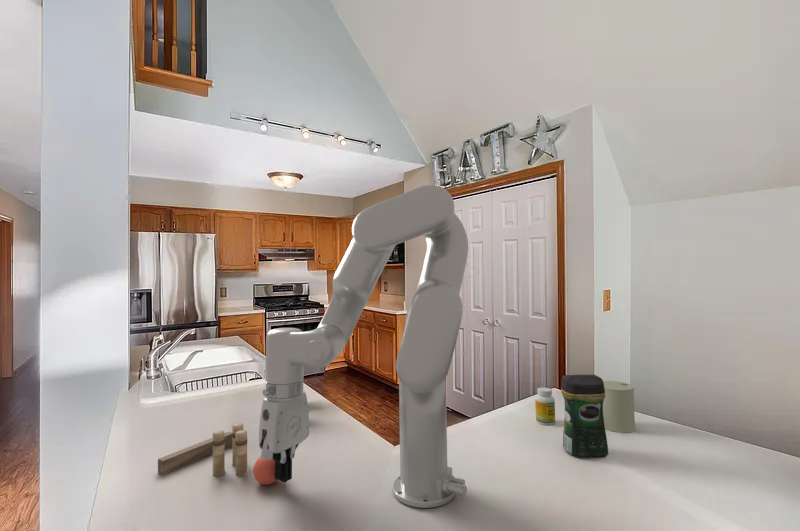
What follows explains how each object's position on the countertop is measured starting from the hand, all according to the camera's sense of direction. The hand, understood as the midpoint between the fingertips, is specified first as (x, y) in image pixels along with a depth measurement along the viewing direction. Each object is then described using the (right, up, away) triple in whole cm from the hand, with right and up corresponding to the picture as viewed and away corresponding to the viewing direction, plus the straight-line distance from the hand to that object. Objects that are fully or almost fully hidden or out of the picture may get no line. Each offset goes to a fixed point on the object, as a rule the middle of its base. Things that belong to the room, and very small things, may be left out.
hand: (283, 479), depth 81 cm
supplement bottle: (+66, -2, +34) cm, 75 cm away
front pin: (-11, -3, +7) cm, 14 cm away
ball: (-4, +1, +3) cm, 5 cm away
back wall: (-25, -3, +15) cm, 30 cm away
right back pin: (-14, -3, +12) cm, 18 cm away
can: (+85, -2, +30) cm, 90 cm away
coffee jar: (+68, -2, +15) cm, 70 cm away
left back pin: (-17, -3, +7) cm, 18 cm away
